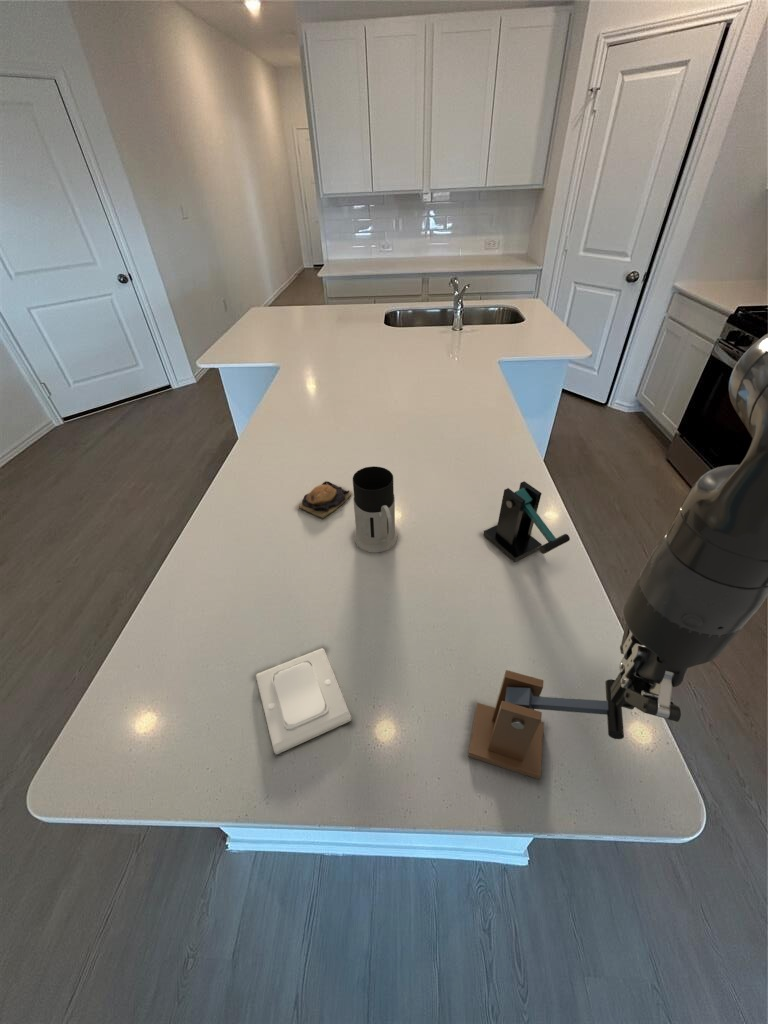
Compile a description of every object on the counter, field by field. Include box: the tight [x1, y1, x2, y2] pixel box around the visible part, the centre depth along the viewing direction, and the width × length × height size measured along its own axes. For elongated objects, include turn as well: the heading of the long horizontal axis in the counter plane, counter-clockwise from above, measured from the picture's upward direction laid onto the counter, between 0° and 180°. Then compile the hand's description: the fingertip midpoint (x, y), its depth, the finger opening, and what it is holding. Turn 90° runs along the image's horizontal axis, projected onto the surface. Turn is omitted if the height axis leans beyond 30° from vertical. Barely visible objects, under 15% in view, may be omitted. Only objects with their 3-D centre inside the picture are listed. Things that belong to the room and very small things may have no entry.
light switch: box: [255, 647, 352, 755], centre depth 63 cm, size 11×4×13 cm
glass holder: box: [352, 466, 398, 554], centre depth 83 cm, size 9×14×15 cm, turn 18°
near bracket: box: [467, 669, 544, 780], centre depth 55 cm, size 9×7×13 cm
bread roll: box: [298, 480, 352, 519], centre depth 98 cm, size 11×8×4 cm
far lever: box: [514, 488, 571, 555], centre depth 79 cm, size 12×6×2 cm, turn 31°
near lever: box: [505, 679, 625, 740], centre depth 50 cm, size 12×6×2 cm, turn 71°
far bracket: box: [482, 481, 543, 563], centre depth 84 cm, size 9×7×13 cm
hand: (621, 698), depth 46 cm, fingers closed
